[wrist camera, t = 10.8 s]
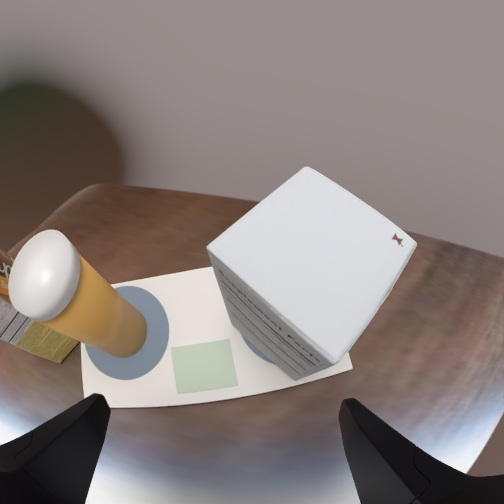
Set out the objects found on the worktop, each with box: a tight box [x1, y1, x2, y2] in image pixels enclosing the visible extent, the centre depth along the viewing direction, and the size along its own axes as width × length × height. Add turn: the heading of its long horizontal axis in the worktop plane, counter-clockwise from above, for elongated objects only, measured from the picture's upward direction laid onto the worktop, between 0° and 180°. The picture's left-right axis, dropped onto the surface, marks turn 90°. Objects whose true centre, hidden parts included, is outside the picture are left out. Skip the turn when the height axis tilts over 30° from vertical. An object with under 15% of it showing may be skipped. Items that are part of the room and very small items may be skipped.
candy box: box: [0, 248, 79, 363], centre depth 16 cm, size 9×4×15 cm, turn 51°
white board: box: [81, 267, 353, 408], centre depth 22 cm, size 12×24×1 cm, turn 101°
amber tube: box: [8, 230, 147, 358], centre depth 16 cm, size 5×5×12 cm
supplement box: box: [206, 167, 417, 381], centre depth 17 cm, size 7×7×13 cm
